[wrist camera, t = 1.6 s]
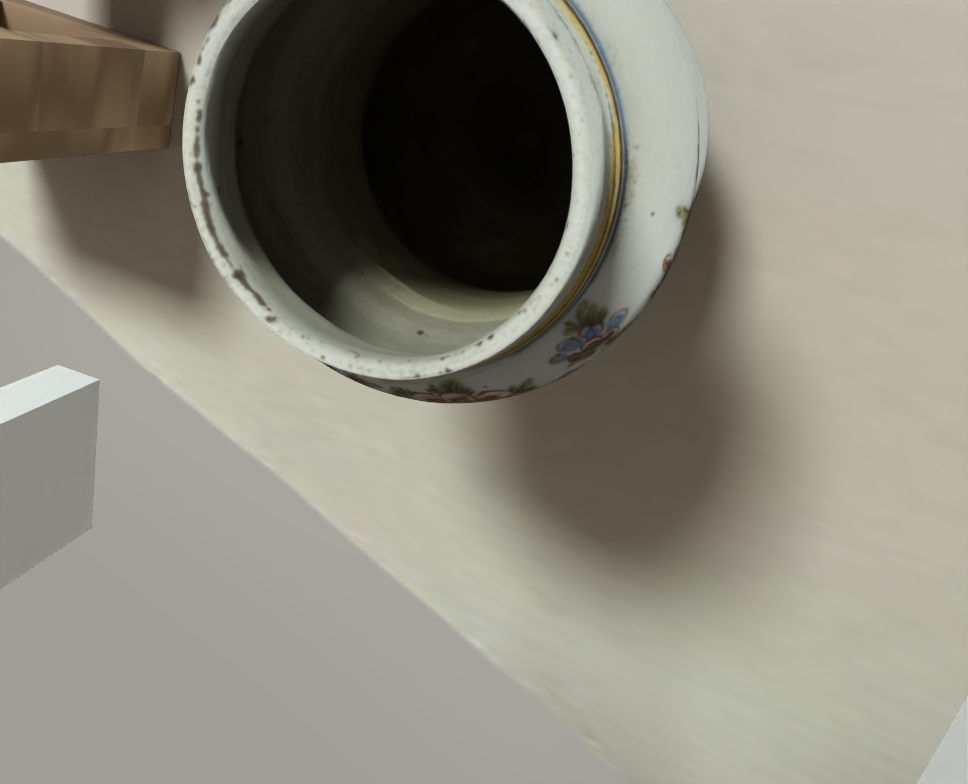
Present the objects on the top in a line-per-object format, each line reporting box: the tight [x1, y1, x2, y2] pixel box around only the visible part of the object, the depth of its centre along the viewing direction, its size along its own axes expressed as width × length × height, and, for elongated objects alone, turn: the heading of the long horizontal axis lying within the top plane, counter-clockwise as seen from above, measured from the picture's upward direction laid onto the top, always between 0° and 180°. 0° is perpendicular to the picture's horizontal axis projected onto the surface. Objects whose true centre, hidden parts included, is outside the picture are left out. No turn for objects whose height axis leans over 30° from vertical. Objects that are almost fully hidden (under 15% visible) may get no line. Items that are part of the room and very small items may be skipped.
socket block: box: [0, 0, 180, 163], centre depth 32 cm, size 4×8×10 cm, turn 74°
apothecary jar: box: [182, 0, 709, 403], centre depth 24 cm, size 12×12×18 cm
